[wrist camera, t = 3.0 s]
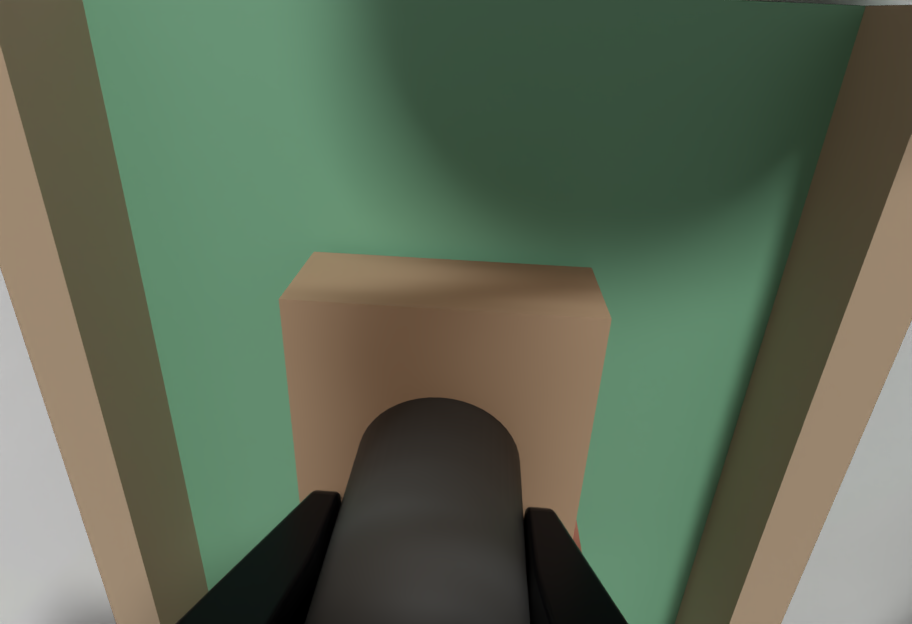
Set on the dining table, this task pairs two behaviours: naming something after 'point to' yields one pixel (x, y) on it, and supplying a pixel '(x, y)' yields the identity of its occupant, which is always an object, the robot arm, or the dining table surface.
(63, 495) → the dining table surface
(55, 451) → the dining table surface
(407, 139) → the tray
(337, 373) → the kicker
